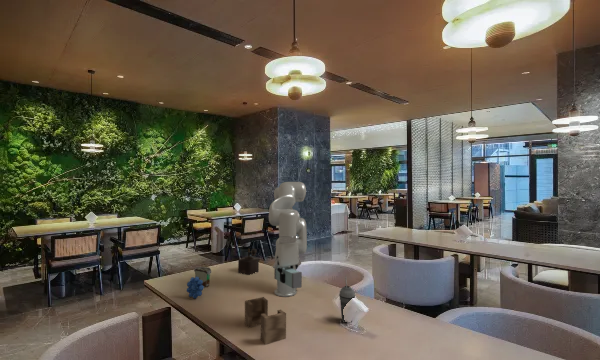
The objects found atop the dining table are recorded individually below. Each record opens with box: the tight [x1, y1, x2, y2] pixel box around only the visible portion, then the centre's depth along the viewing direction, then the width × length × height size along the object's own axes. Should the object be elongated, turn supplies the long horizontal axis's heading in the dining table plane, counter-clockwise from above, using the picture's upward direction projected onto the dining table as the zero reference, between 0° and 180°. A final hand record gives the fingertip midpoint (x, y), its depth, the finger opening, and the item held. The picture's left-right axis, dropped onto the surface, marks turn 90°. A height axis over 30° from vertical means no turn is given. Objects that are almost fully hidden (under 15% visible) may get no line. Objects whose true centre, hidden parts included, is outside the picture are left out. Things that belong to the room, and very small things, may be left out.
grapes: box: [186, 276, 205, 300], centre depth 169 cm, size 12×7×12 cm, turn 63°
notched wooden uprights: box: [244, 296, 287, 345], centre depth 132 cm, size 9×21×10 cm, turn 32°
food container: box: [193, 266, 212, 288], centre depth 191 cm, size 12×6×10 cm, turn 58°
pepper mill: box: [237, 248, 260, 276], centre depth 217 cm, size 16×11×18 cm
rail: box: [273, 265, 303, 289], centre depth 137 cm, size 4×16×6 cm, turn 33°
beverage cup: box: [338, 275, 356, 323], centre depth 142 cm, size 7×7×20 cm
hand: (287, 281), depth 137 cm, fingers closed on rail, 4 cm apart
